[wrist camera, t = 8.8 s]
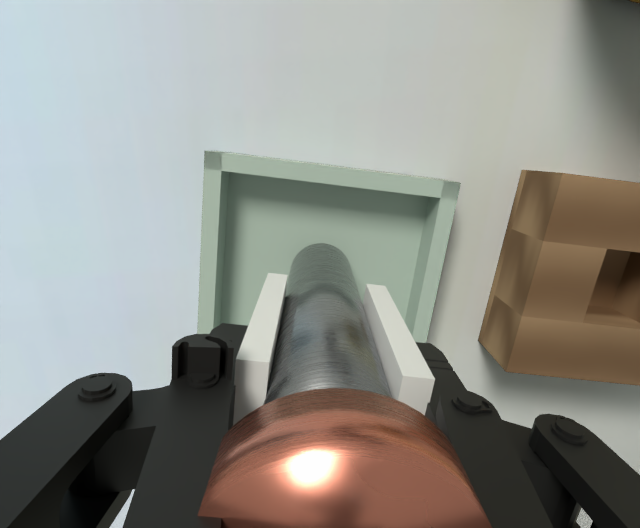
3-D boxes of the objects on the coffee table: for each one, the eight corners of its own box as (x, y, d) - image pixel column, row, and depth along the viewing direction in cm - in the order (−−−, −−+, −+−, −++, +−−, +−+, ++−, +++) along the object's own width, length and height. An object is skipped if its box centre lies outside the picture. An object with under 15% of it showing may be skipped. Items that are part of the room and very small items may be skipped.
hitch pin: (271, 309, 21) (167, 693, 6) (279, 222, 20) (172, 440, 5) (358, 319, 21) (463, 710, 6) (372, 233, 20) (545, 474, 5)
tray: (217, 151, 20) (204, 150, 18) (444, 179, 21) (460, 183, 18) (207, 342, 23) (196, 363, 21) (406, 363, 24) (416, 385, 21)
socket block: (521, 169, 21) (562, 173, 17) (700, 192, 21) (773, 200, 18) (478, 340, 23) (505, 371, 20) (637, 357, 24) (690, 390, 20)
